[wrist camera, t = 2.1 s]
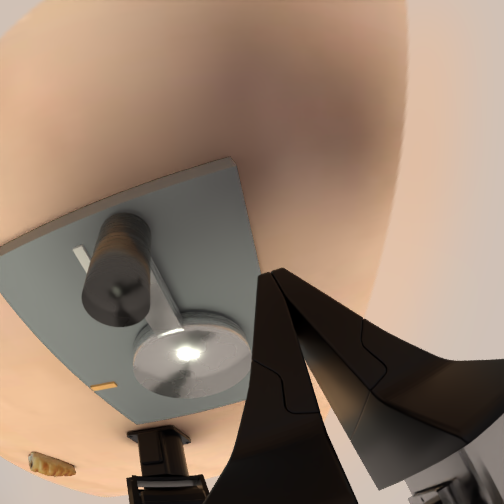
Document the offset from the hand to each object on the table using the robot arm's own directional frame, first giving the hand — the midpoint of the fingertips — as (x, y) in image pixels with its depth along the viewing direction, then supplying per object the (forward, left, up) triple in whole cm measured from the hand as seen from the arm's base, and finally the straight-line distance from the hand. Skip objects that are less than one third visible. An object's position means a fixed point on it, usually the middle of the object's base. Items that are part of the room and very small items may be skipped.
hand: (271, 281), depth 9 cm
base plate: (-9, +7, -8) cm, 14 cm away
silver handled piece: (-6, +5, -6) cm, 10 cm away
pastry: (-36, +44, -8) cm, 57 cm away
